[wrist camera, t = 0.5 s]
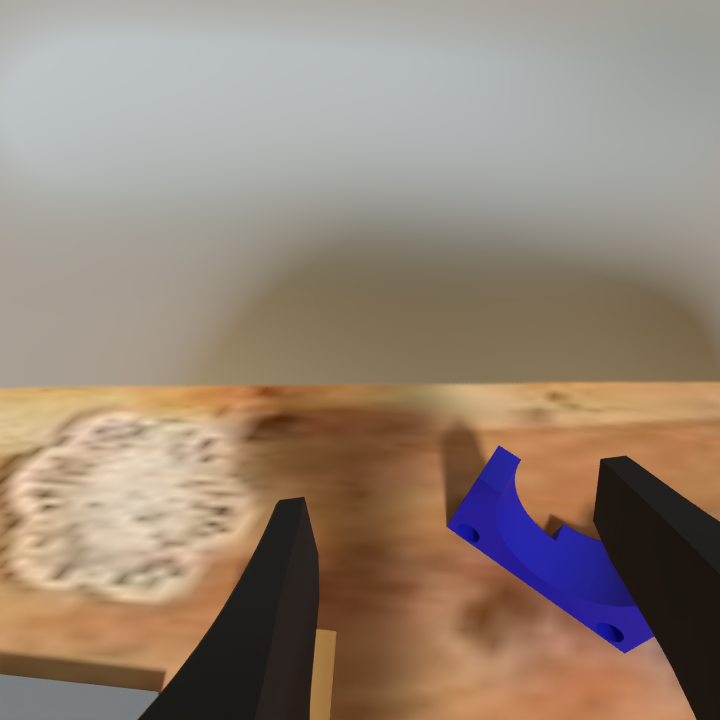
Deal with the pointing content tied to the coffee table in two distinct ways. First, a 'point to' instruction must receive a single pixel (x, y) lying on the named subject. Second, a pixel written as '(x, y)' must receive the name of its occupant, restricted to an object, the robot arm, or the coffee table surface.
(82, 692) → the plate
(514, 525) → the cable clip
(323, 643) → the cardboard carton
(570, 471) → the coffee table surface
